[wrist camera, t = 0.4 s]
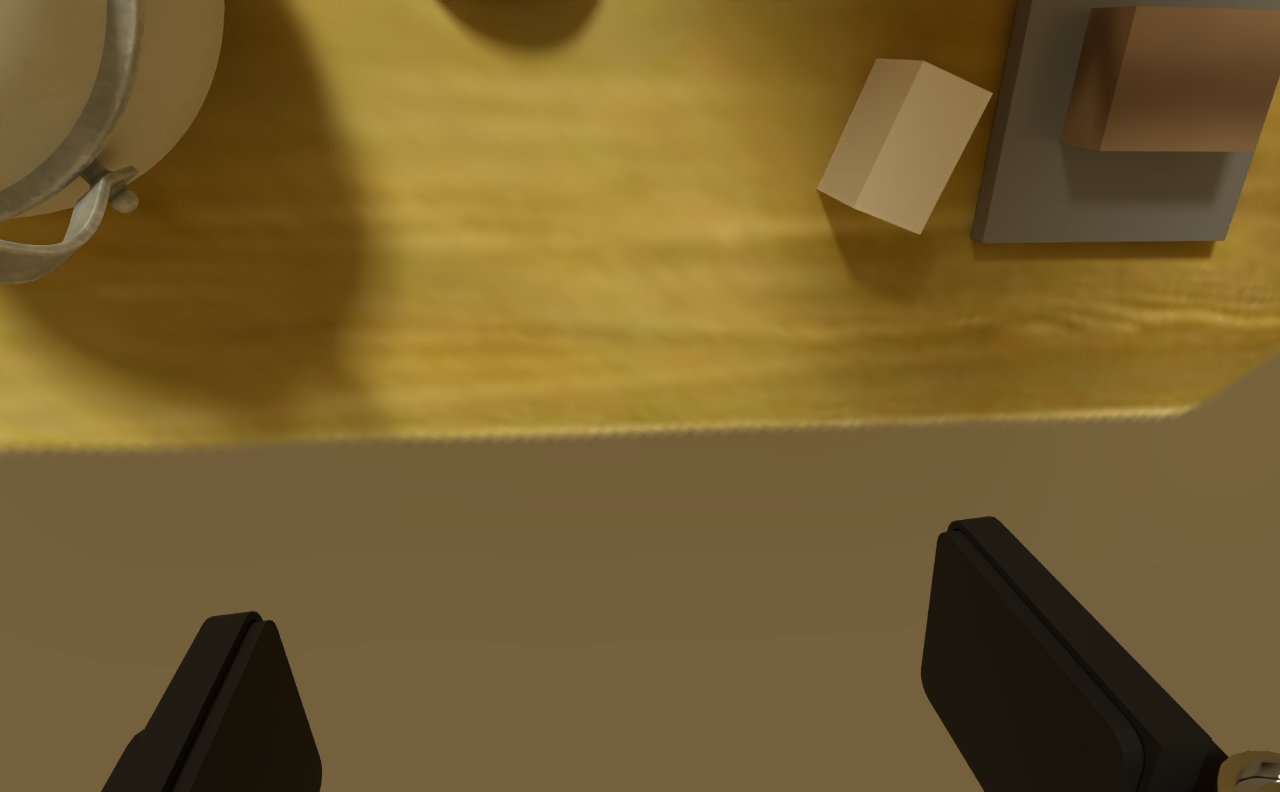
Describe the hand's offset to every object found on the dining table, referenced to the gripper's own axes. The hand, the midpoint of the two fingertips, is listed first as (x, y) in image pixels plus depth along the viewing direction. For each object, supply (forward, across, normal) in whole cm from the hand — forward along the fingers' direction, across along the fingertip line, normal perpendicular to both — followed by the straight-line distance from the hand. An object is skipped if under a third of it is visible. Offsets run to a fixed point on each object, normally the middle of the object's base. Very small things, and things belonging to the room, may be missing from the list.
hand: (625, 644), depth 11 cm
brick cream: (+30, -16, -2) cm, 34 cm away
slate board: (+30, -29, -4) cm, 42 cm away
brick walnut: (+29, -29, -4) cm, 41 cm away
